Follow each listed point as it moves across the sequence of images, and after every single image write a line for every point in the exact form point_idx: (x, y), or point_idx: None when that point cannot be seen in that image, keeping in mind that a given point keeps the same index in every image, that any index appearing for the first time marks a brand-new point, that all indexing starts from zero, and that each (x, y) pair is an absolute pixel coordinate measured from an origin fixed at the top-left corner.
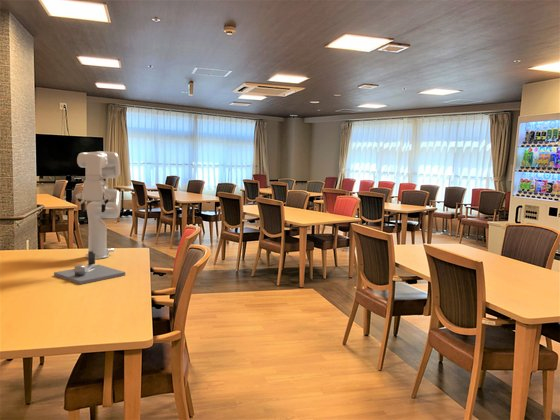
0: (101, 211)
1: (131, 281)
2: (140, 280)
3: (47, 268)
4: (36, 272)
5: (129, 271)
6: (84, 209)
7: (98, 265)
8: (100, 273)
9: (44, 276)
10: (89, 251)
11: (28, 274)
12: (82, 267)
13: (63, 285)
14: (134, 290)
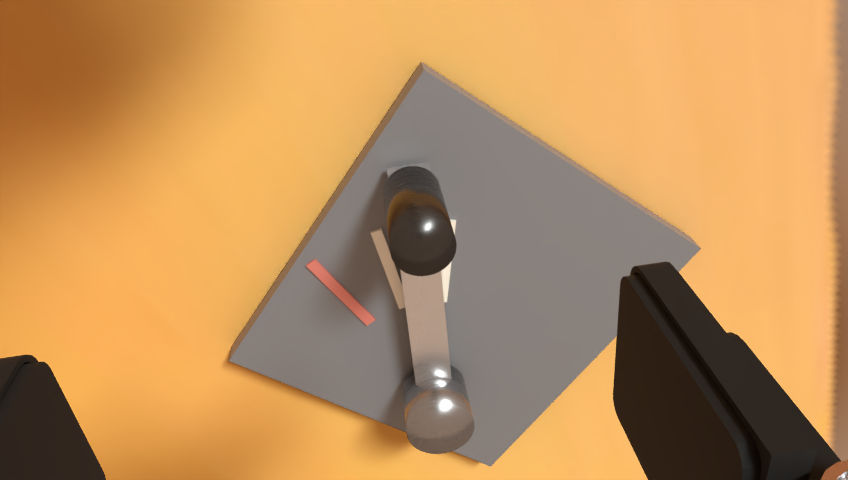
0: (619, 418)
1: (743, 338)
2: (794, 309)
3: (18, 179)
4: (46, 299)
5: (701, 119)
6: (57, 460)
7: (436, 104)
8: (541, 314)
9: (181, 365)
10: (402, 253)
11: (41, 351)
12: (467, 437)
13: (404, 471)
14: None
